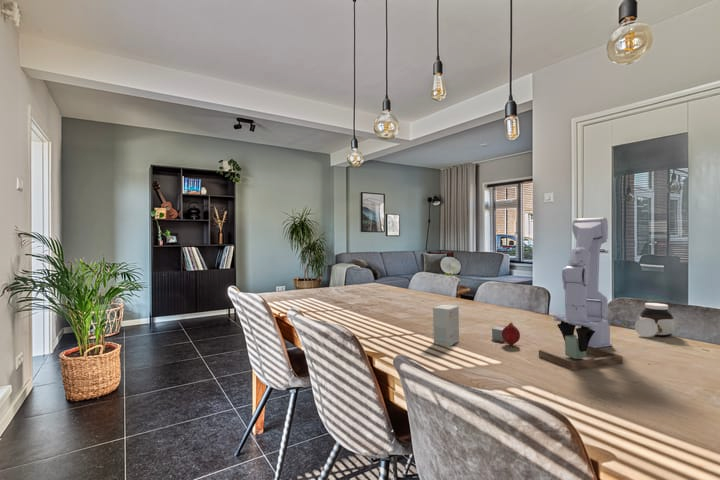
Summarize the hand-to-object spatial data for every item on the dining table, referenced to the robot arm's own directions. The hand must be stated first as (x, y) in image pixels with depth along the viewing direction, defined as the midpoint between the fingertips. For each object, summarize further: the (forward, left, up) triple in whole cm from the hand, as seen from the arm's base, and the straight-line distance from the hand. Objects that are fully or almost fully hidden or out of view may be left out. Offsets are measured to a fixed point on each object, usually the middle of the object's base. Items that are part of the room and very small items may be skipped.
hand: (576, 348), depth 113 cm
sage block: (0, 0, -2) cm, 2 cm away
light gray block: (+7, -26, -3) cm, 27 cm away
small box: (+28, -29, -3) cm, 40 cm away
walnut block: (0, +1, -3) cm, 3 cm away
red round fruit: (+9, -18, -3) cm, 20 cm away
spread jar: (-49, -9, -3) cm, 50 cm away
